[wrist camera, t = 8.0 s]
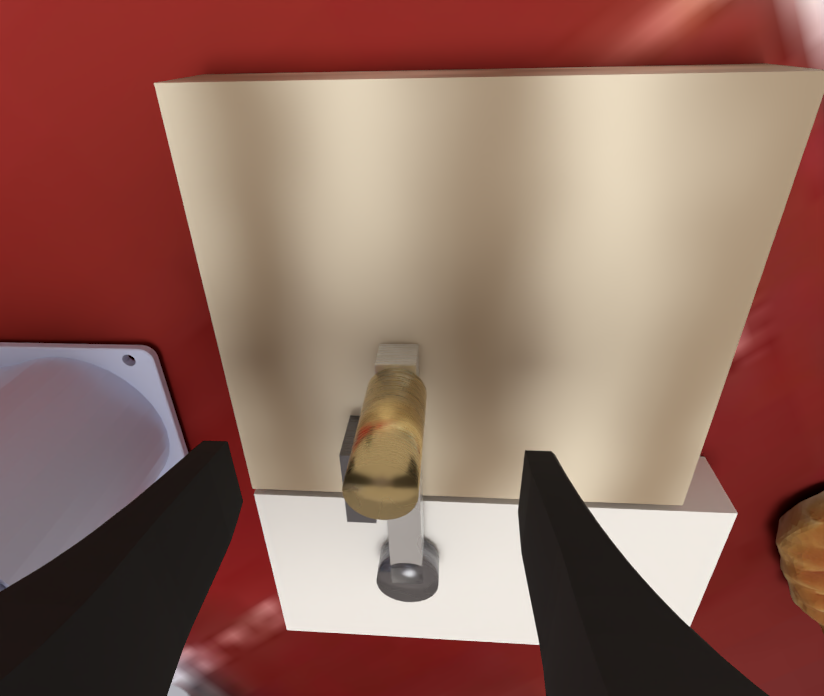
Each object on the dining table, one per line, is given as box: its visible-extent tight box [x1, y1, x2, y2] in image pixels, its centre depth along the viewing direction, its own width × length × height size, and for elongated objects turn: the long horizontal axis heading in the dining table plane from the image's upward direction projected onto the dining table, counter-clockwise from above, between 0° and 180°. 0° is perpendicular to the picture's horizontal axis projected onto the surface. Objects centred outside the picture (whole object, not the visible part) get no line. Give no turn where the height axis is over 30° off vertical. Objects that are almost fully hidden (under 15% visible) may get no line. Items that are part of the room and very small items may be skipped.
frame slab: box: [254, 456, 738, 645], centre depth 23 cm, size 18×9×3 cm, turn 91°
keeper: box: [339, 415, 377, 523], centre depth 18 cm, size 1×3×2 cm, turn 1°
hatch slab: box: [154, 64, 824, 505], centre depth 17 cm, size 16×14×3 cm
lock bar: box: [342, 344, 439, 602], centre depth 17 cm, size 11×2×5 cm, turn 2°
